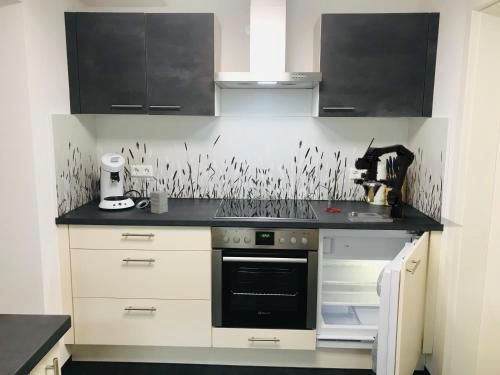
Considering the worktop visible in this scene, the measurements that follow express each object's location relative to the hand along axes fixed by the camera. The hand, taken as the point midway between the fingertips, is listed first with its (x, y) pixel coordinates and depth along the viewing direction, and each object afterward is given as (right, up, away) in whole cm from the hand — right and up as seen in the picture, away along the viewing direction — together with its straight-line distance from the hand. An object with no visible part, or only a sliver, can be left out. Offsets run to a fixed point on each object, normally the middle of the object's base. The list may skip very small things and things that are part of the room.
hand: (370, 196), depth 232 cm
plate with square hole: (0, -13, 0) cm, 13 cm away
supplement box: (-124, -10, +15) cm, 126 cm away
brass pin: (0, -3, +1) cm, 3 cm away
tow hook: (-17, -10, +25) cm, 31 cm away
